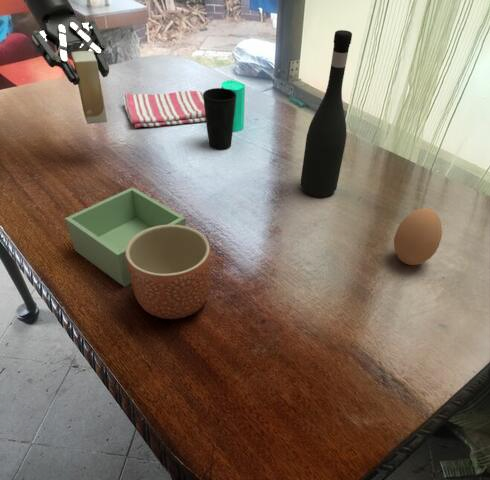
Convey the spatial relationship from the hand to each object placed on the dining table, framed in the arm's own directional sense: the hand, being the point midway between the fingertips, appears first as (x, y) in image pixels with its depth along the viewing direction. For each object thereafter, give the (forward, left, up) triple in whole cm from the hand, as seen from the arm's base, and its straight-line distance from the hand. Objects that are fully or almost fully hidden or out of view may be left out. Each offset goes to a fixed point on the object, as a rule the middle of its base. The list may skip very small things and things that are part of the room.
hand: (92, 78), depth 92 cm
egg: (+16, -69, -18) cm, 73 cm away
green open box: (-17, -30, -18) cm, 39 cm away
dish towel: (+29, +11, -18) cm, 36 cm away
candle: (+35, -7, -18) cm, 40 cm away
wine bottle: (+25, -42, -18) cm, 52 cm away
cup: (+25, -12, -18) cm, 33 cm away
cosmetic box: (0, +2, -9) cm, 9 cm away
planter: (-21, -46, -18) cm, 53 cm away
